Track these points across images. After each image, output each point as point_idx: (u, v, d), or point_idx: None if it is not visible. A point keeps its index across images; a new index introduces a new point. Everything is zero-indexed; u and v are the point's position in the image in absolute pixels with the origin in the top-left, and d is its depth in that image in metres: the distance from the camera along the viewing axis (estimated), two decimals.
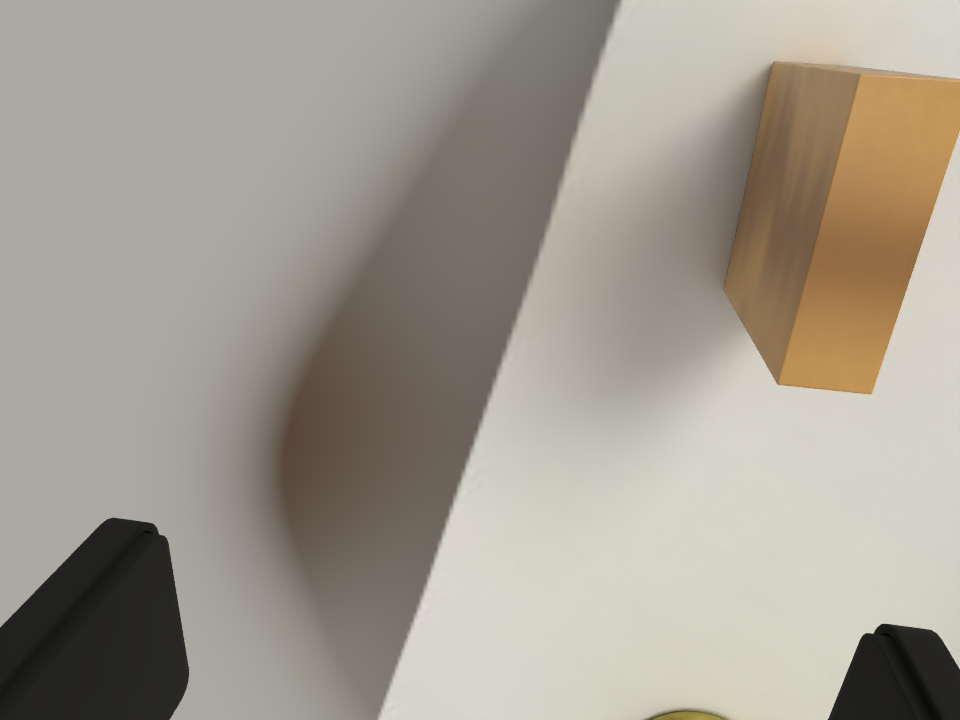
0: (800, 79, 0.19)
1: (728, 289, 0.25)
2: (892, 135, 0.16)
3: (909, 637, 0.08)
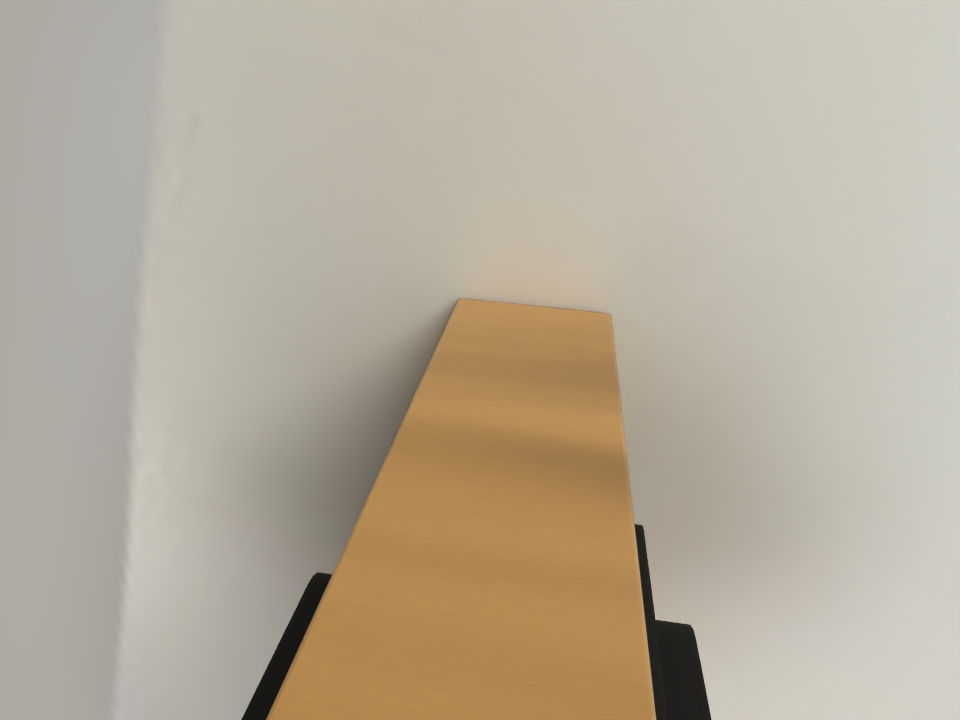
0: None
1: None
2: None
3: None
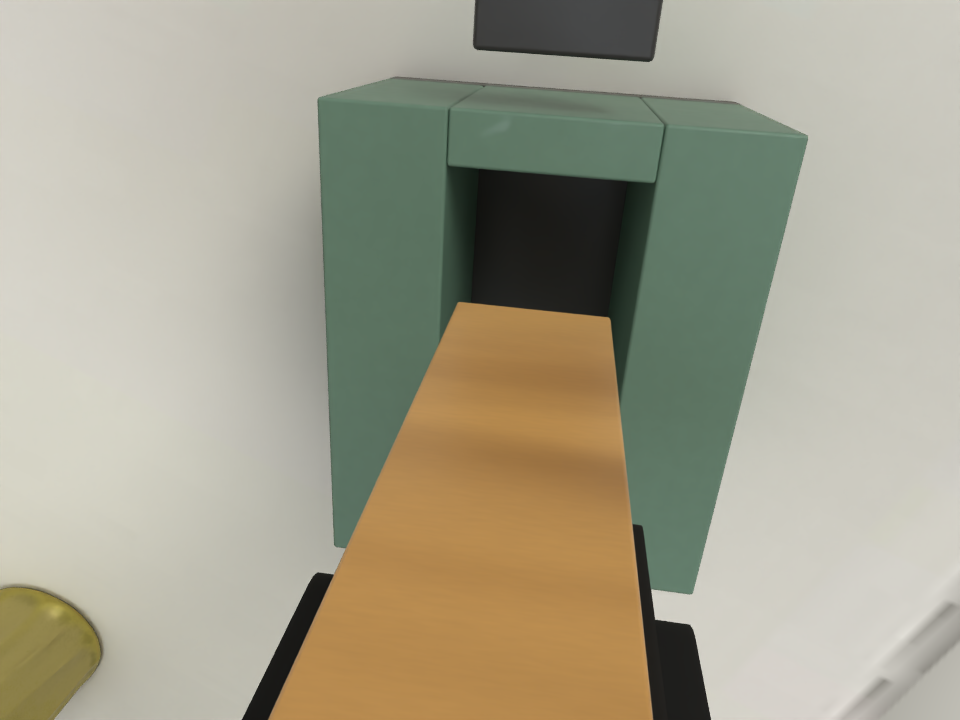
0: None
1: None
2: None
3: None
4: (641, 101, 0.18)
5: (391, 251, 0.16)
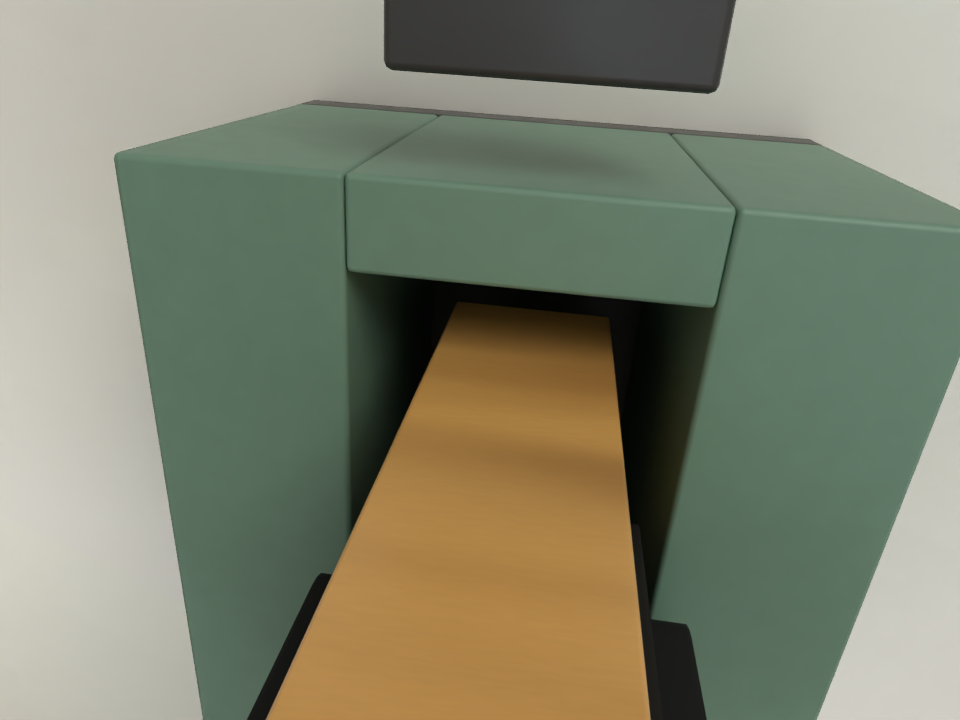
0: None
1: None
2: None
3: None
4: (675, 143, 0.12)
5: (261, 405, 0.09)
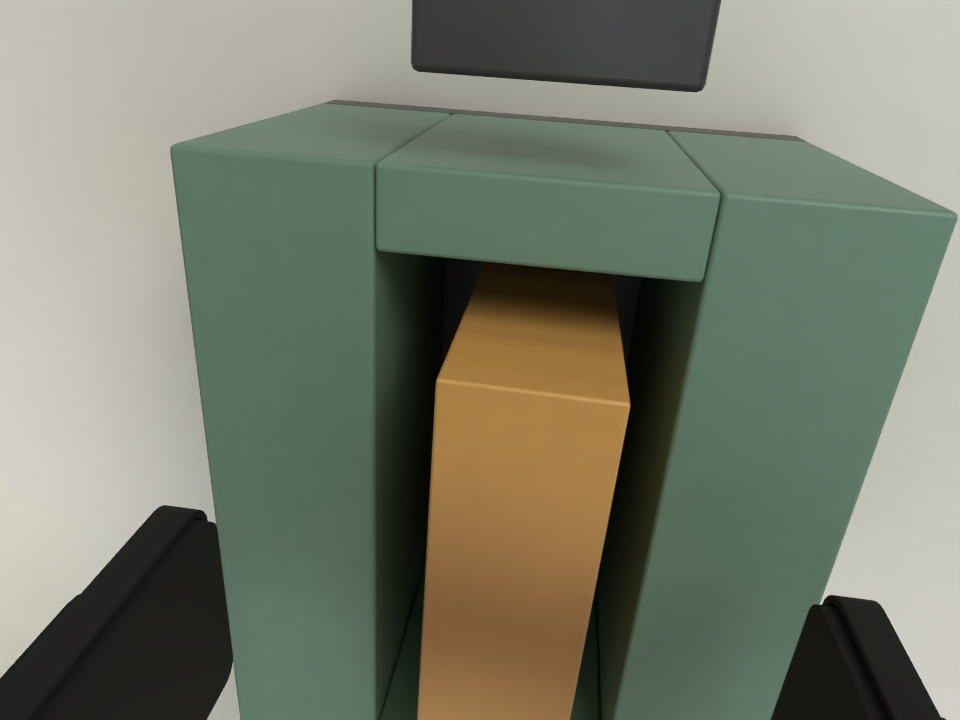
0: None
1: None
2: (509, 472, 0.09)
3: (852, 607, 0.08)
4: (670, 139, 0.13)
5: (297, 373, 0.10)
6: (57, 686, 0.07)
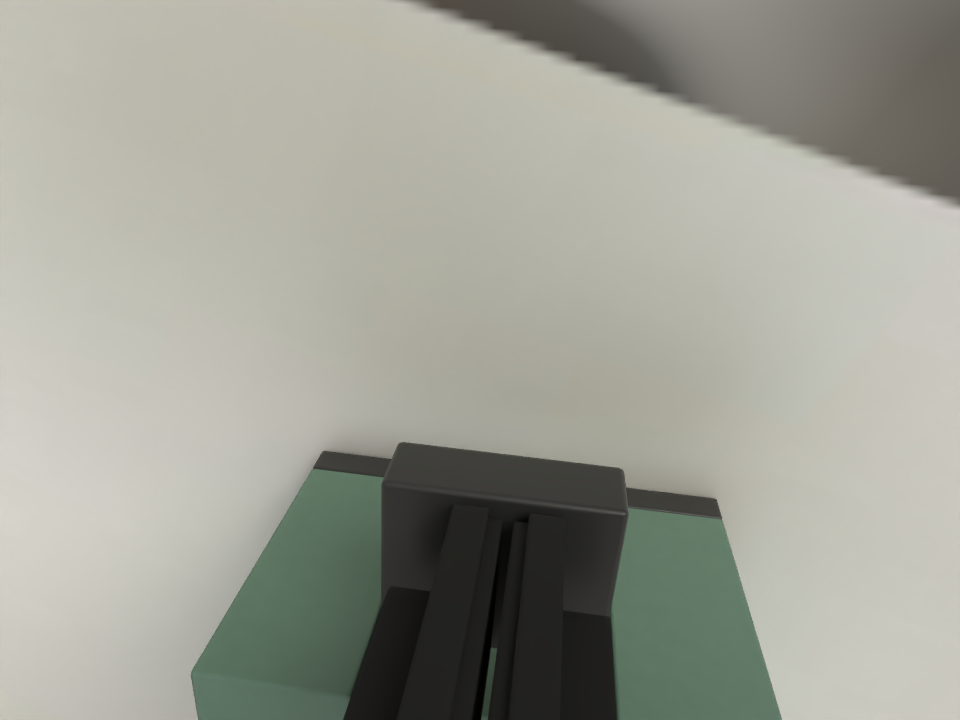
0: None
1: None
2: None
3: (538, 521, 0.10)
4: None
5: None
6: (458, 673, 0.07)
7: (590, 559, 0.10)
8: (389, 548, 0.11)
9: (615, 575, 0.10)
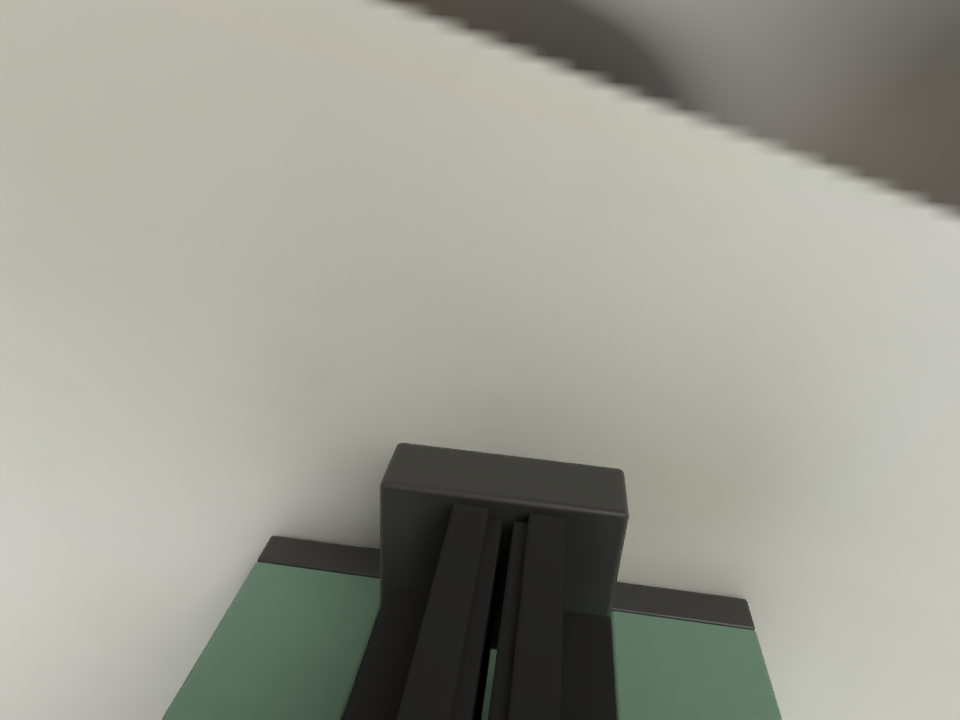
0: None
1: None
2: None
3: (538, 521, 0.10)
4: None
5: None
6: (458, 673, 0.07)
7: (590, 560, 0.10)
8: (388, 549, 0.11)
9: (615, 576, 0.10)
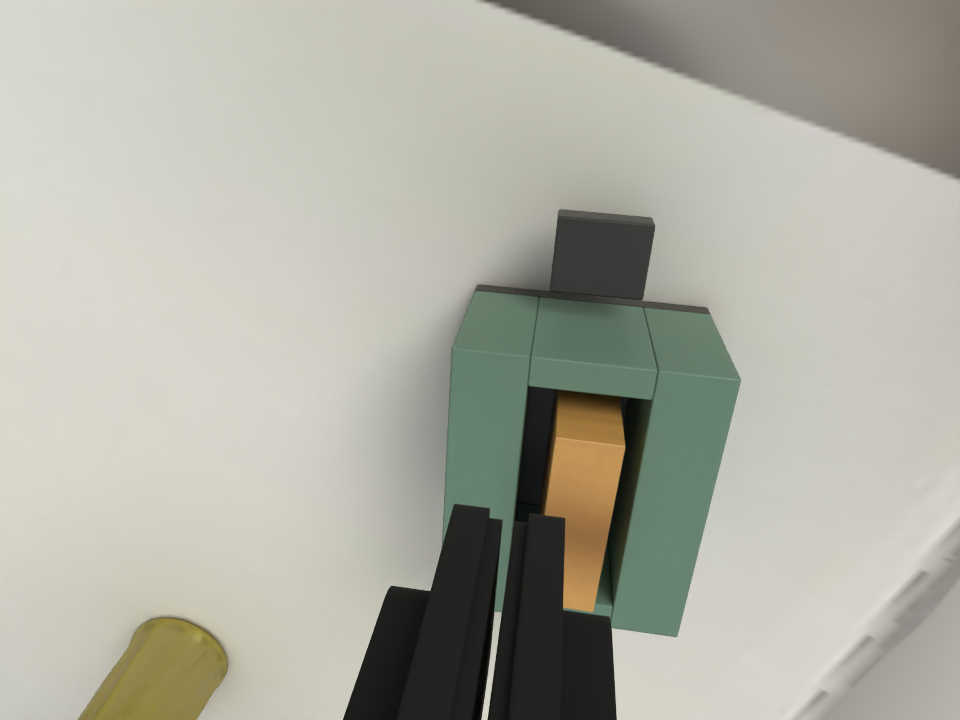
0: (557, 390, 0.28)
1: None
2: (580, 471, 0.25)
3: (538, 521, 0.10)
4: (644, 319, 0.28)
5: (490, 430, 0.26)
6: (458, 673, 0.07)
7: (639, 247, 0.26)
8: (558, 247, 0.27)
9: (649, 255, 0.26)
